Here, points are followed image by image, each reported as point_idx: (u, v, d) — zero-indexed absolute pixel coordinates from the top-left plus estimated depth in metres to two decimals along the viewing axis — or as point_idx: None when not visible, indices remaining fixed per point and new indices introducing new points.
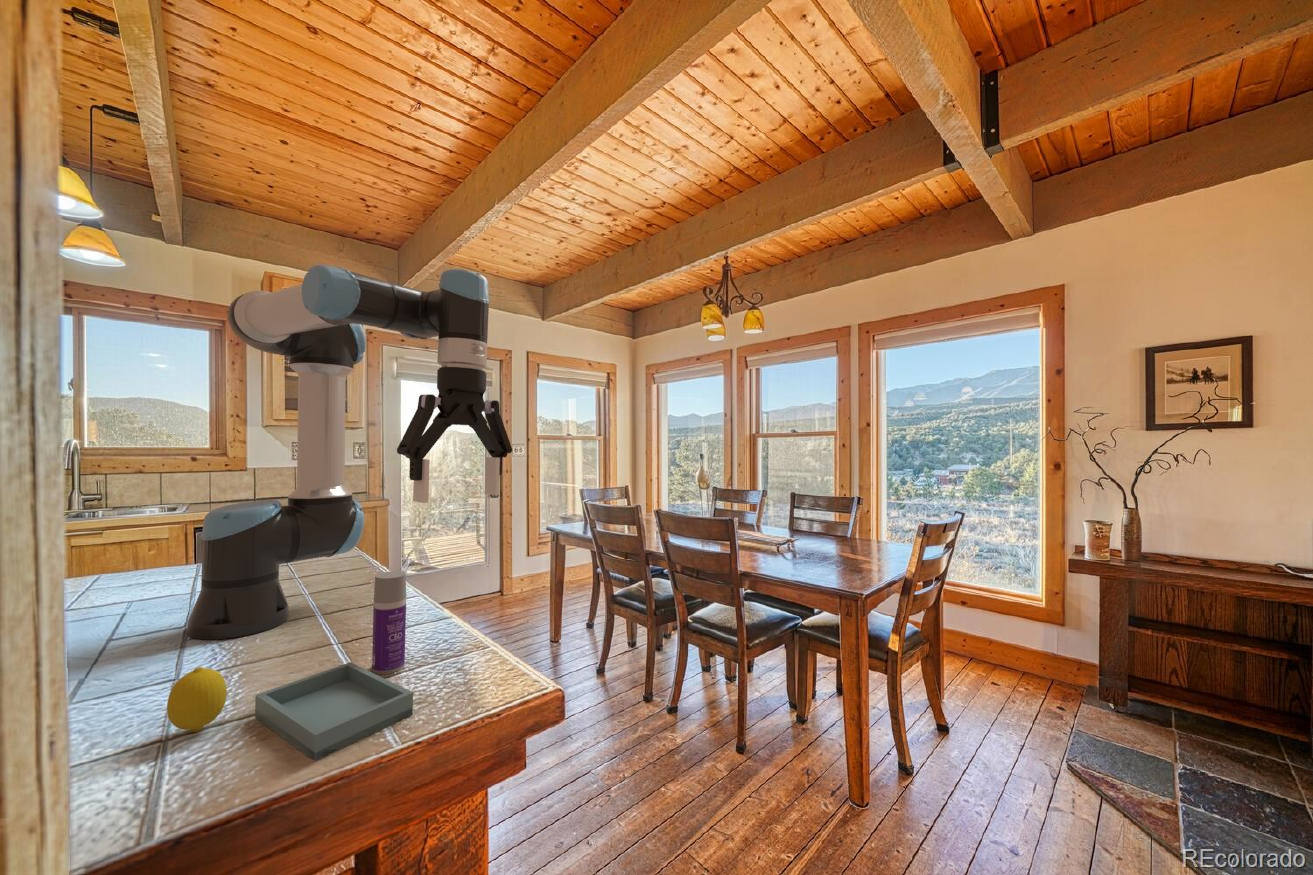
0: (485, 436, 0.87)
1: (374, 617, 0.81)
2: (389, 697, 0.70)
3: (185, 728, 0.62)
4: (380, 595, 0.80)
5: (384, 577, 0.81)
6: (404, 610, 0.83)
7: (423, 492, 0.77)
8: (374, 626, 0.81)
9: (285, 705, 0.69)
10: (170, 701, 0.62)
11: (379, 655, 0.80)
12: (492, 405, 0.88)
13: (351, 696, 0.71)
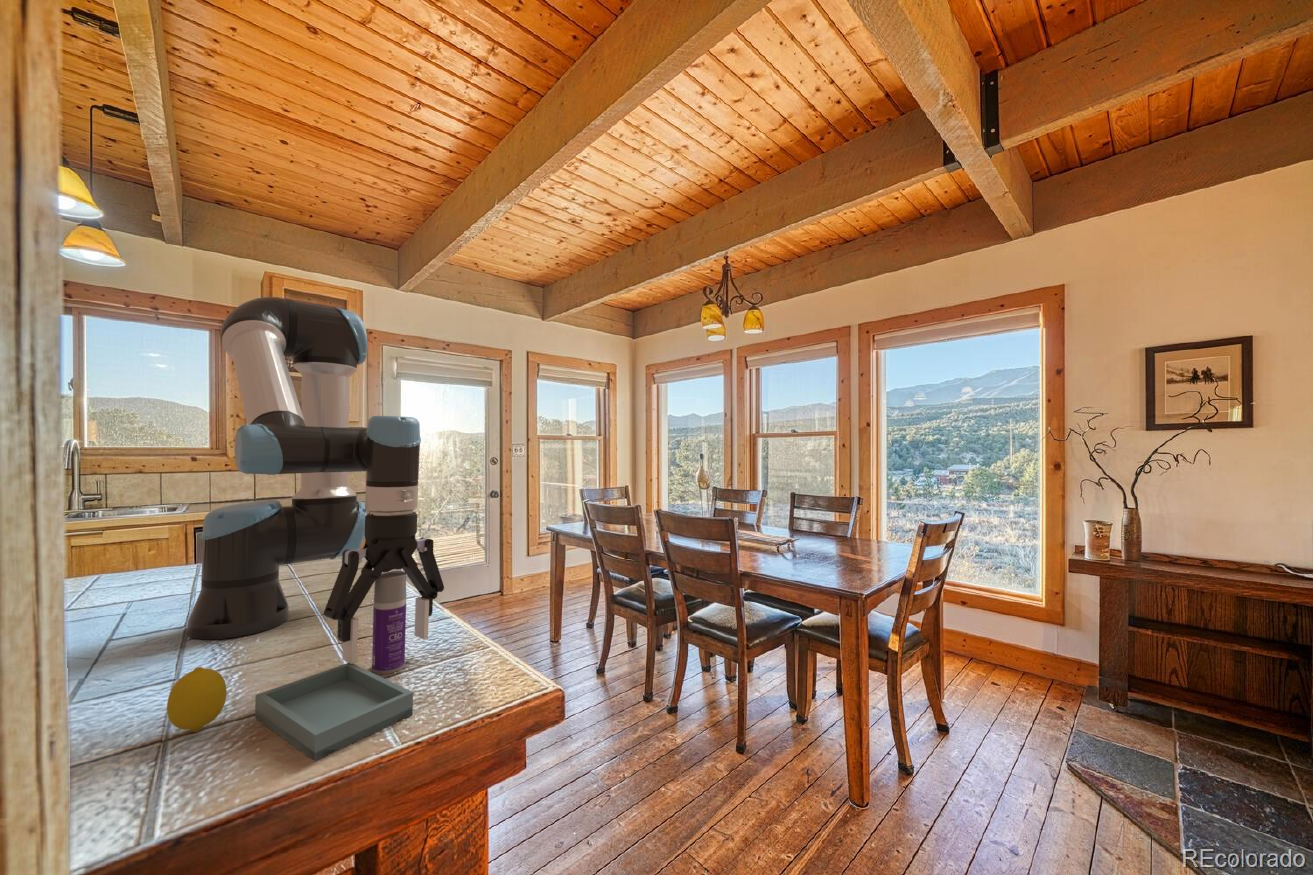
0: (414, 578, 0.85)
1: (374, 617, 0.81)
2: (389, 697, 0.70)
3: (185, 728, 0.62)
4: (380, 595, 0.80)
5: (384, 577, 0.81)
6: (404, 610, 0.83)
7: (351, 653, 0.76)
8: (374, 626, 0.81)
9: (285, 705, 0.69)
10: (170, 701, 0.62)
11: (379, 655, 0.80)
12: (425, 544, 0.87)
13: (351, 696, 0.71)
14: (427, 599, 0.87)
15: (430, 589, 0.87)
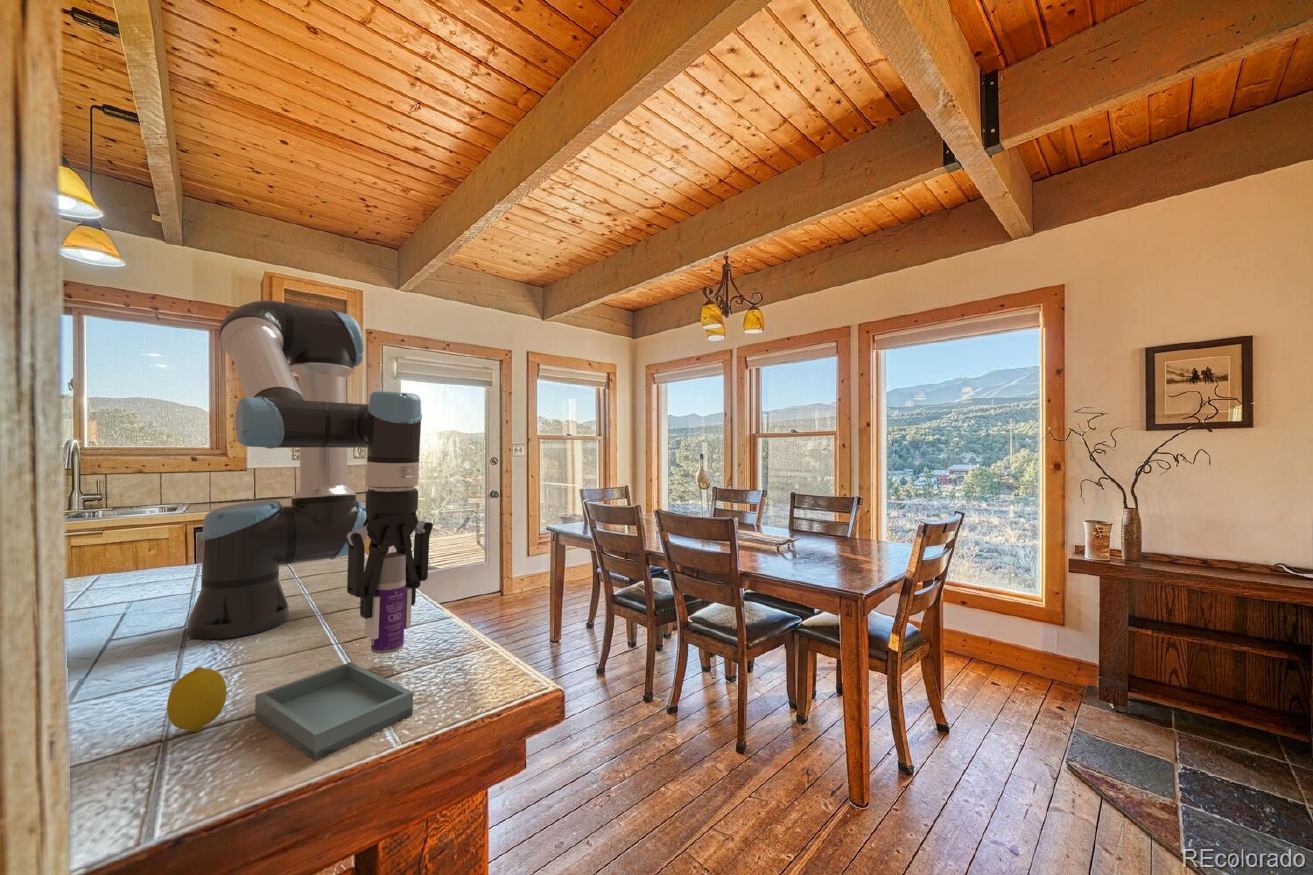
0: None
1: None
2: (389, 697, 0.70)
3: (185, 728, 0.62)
4: (380, 575, 0.80)
5: (384, 558, 0.81)
6: (403, 591, 0.83)
7: (373, 629, 0.80)
8: None
9: (285, 705, 0.69)
10: (170, 701, 0.62)
11: (379, 635, 0.81)
12: (425, 526, 0.87)
13: (351, 696, 0.71)
14: (410, 588, 0.85)
15: (415, 577, 0.85)
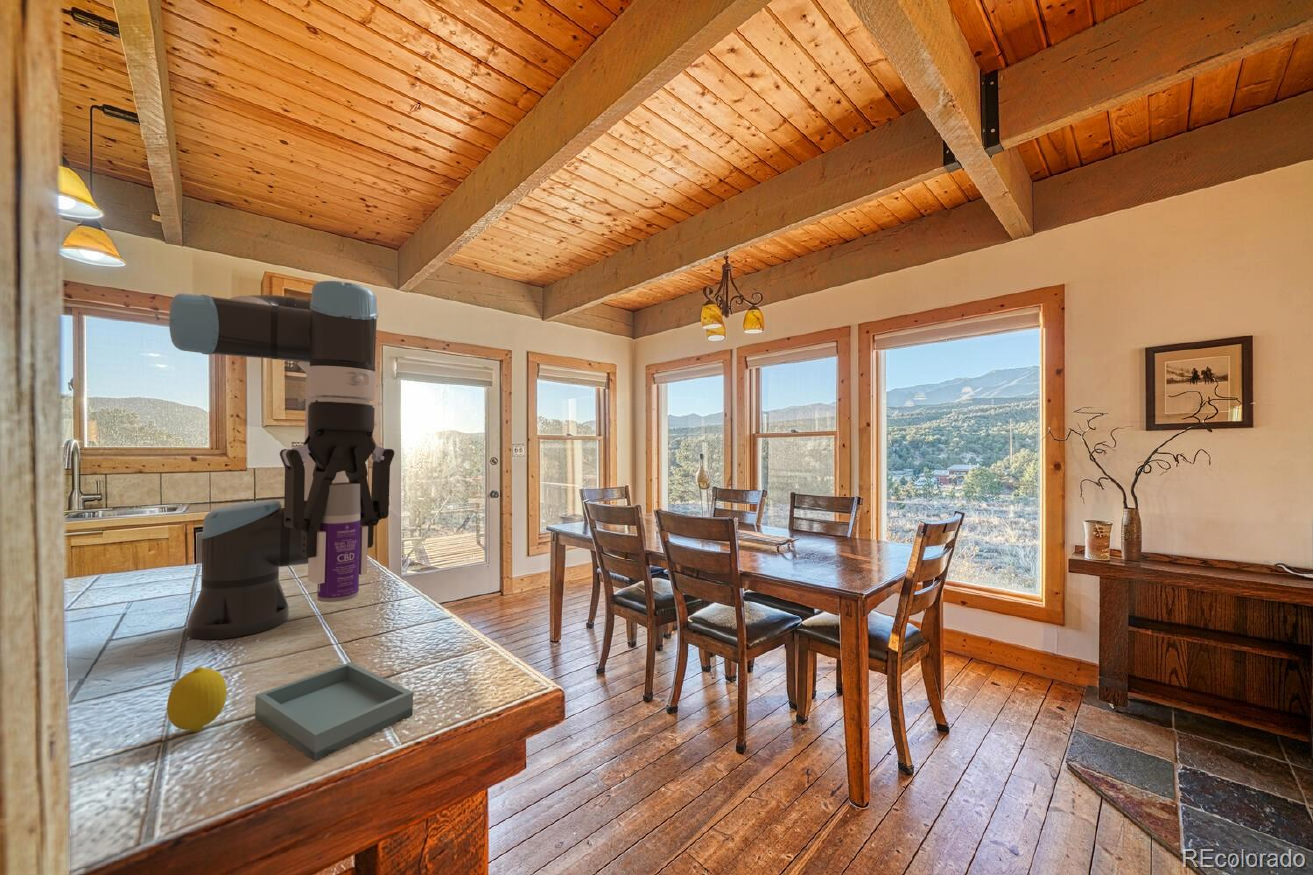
0: None
1: None
2: (389, 697, 0.70)
3: (185, 728, 0.62)
4: (326, 506, 0.66)
5: (332, 485, 0.66)
6: (357, 527, 0.68)
7: (317, 572, 0.65)
8: None
9: (285, 705, 0.69)
10: (170, 701, 0.62)
11: (326, 579, 0.66)
12: (384, 453, 0.72)
13: (351, 696, 0.71)
14: (365, 526, 0.70)
15: (372, 513, 0.71)
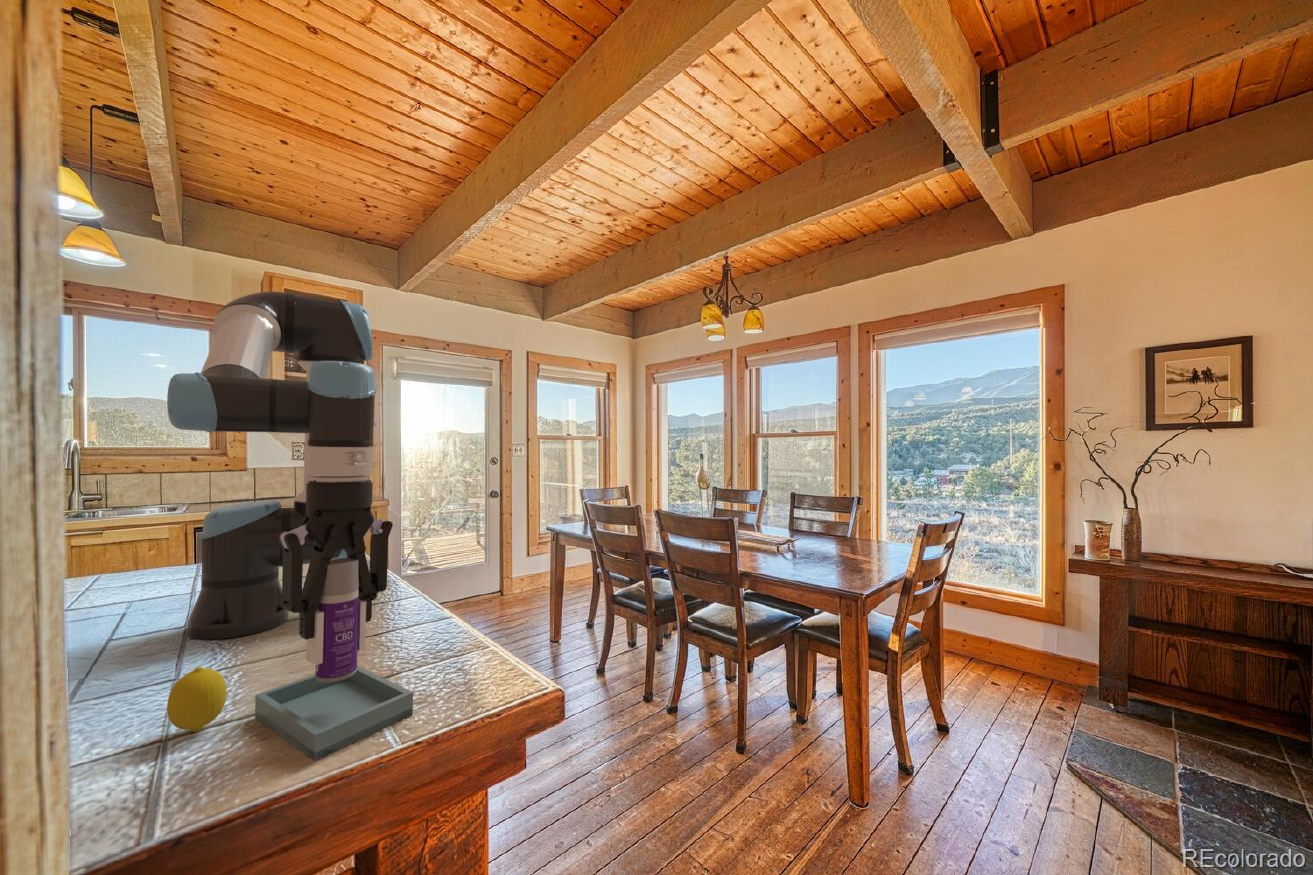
0: None
1: None
2: (389, 697, 0.70)
3: (185, 728, 0.62)
4: (324, 586, 0.66)
5: (330, 564, 0.66)
6: (355, 604, 0.68)
7: (315, 652, 0.65)
8: None
9: (285, 705, 0.69)
10: (170, 701, 0.62)
11: (324, 660, 0.66)
12: (382, 525, 0.72)
13: (351, 696, 0.71)
14: (364, 601, 0.70)
15: (370, 587, 0.70)
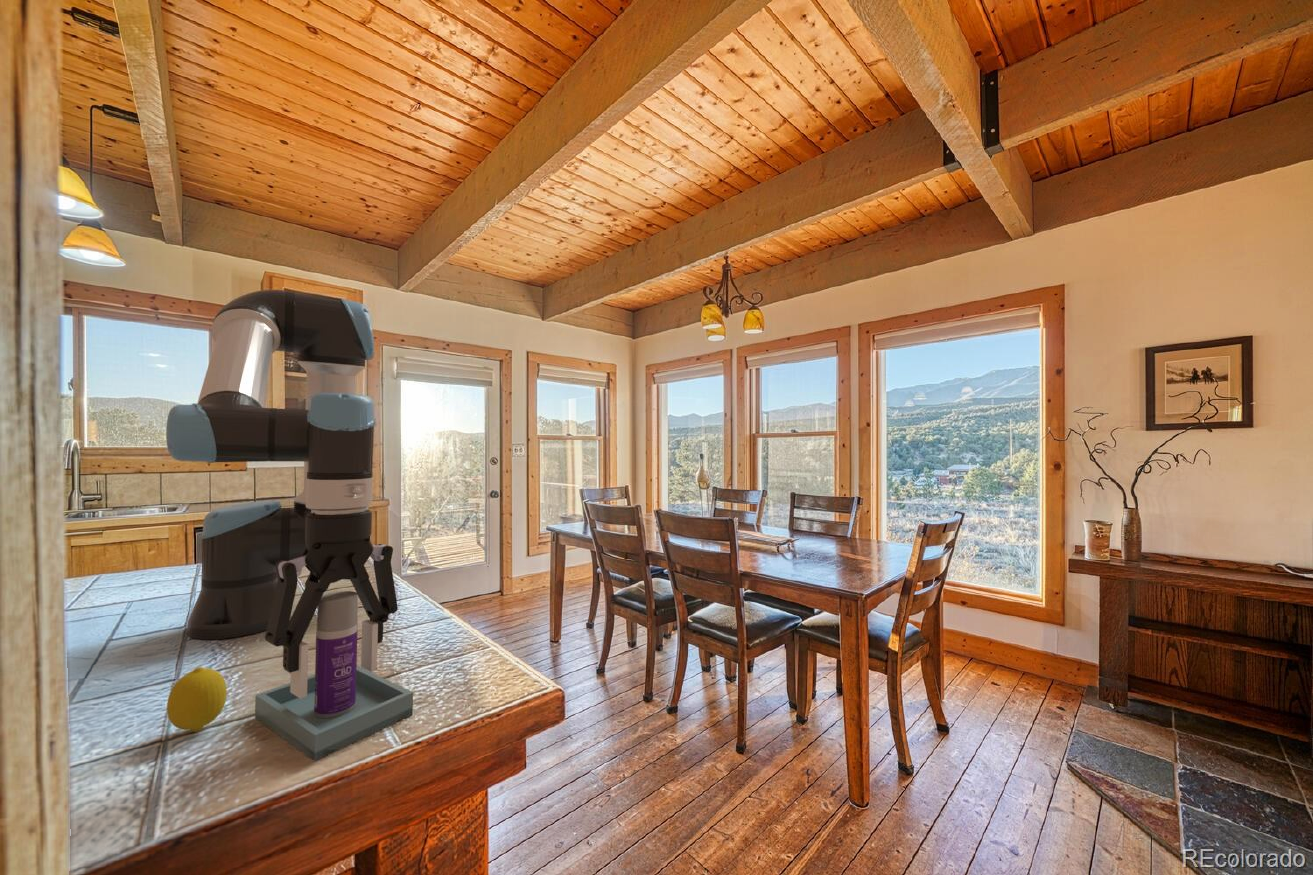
0: (363, 593, 0.70)
1: (316, 648, 0.66)
2: (389, 697, 0.70)
3: (185, 728, 0.62)
4: (323, 622, 0.66)
5: (329, 600, 0.66)
6: (354, 639, 0.68)
7: (299, 686, 0.63)
8: (316, 659, 0.66)
9: (285, 705, 0.69)
10: (170, 701, 0.62)
11: (323, 695, 0.66)
12: (383, 551, 0.72)
13: None
14: (375, 623, 0.71)
15: (380, 610, 0.72)
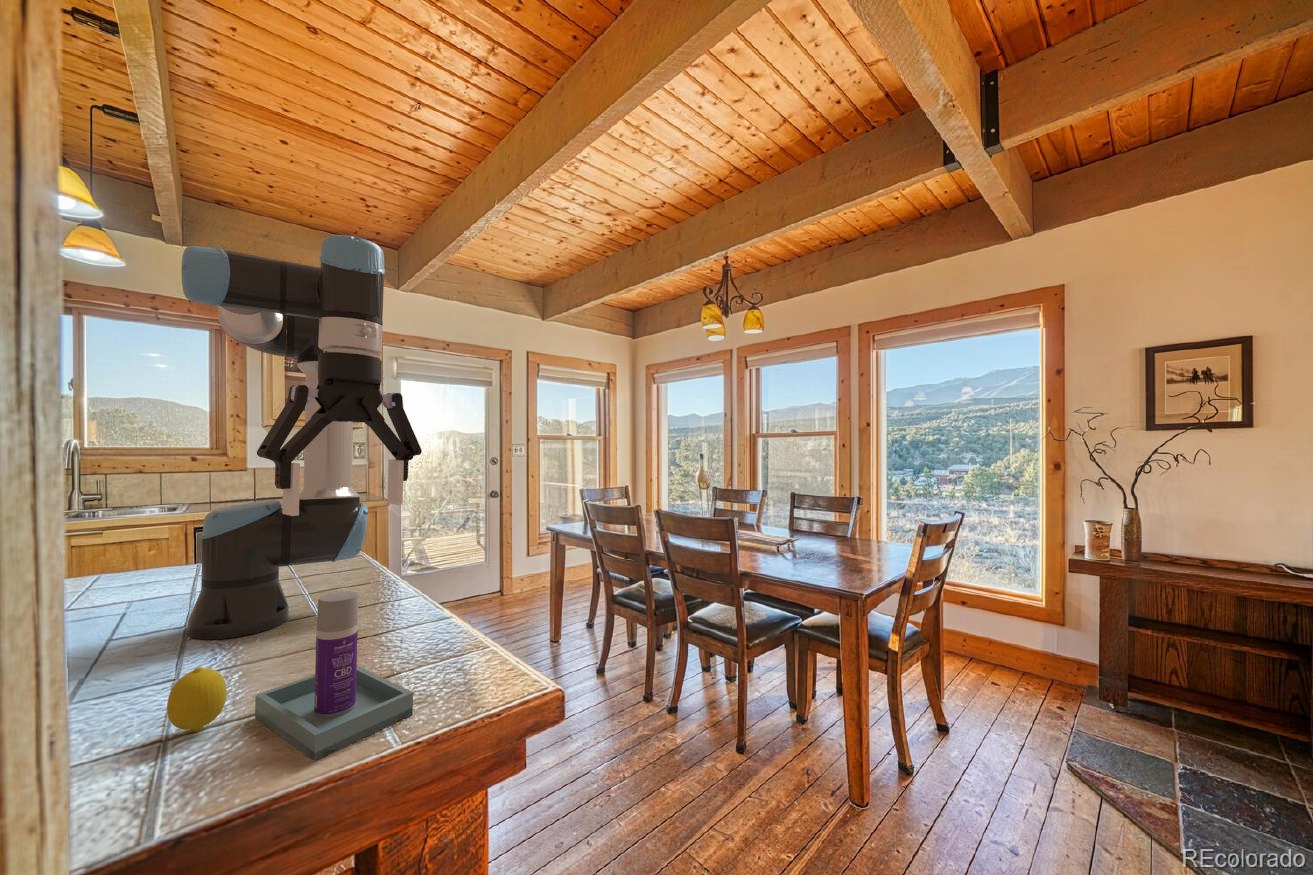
0: (383, 435, 0.74)
1: (317, 649, 0.66)
2: (389, 697, 0.70)
3: (185, 728, 0.62)
4: (324, 622, 0.66)
5: (329, 600, 0.66)
6: (354, 639, 0.68)
7: (291, 504, 0.64)
8: (316, 660, 0.66)
9: (285, 705, 0.69)
10: (170, 701, 0.62)
11: (323, 696, 0.66)
12: (393, 398, 0.75)
13: None
14: (401, 460, 0.76)
15: (404, 449, 0.76)
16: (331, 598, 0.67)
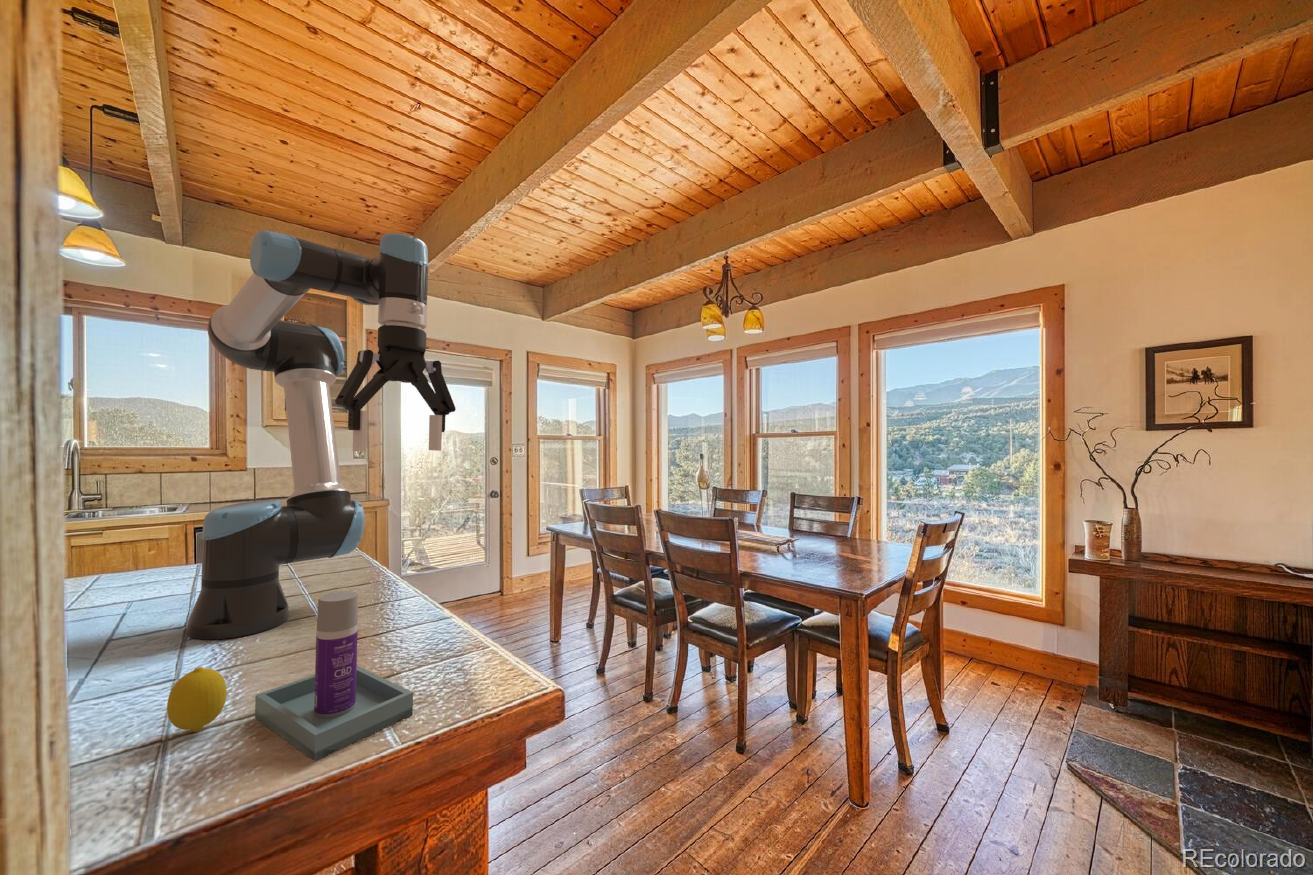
0: (426, 393, 0.92)
1: (317, 648, 0.66)
2: (389, 697, 0.70)
3: (185, 728, 0.62)
4: (324, 622, 0.66)
5: (329, 600, 0.66)
6: (354, 639, 0.68)
7: (361, 442, 0.82)
8: (316, 659, 0.66)
9: (285, 705, 0.69)
10: (170, 701, 0.62)
11: (323, 696, 0.66)
12: (434, 365, 0.93)
13: None
14: (440, 415, 0.94)
15: (442, 406, 0.94)
16: (331, 598, 0.67)
